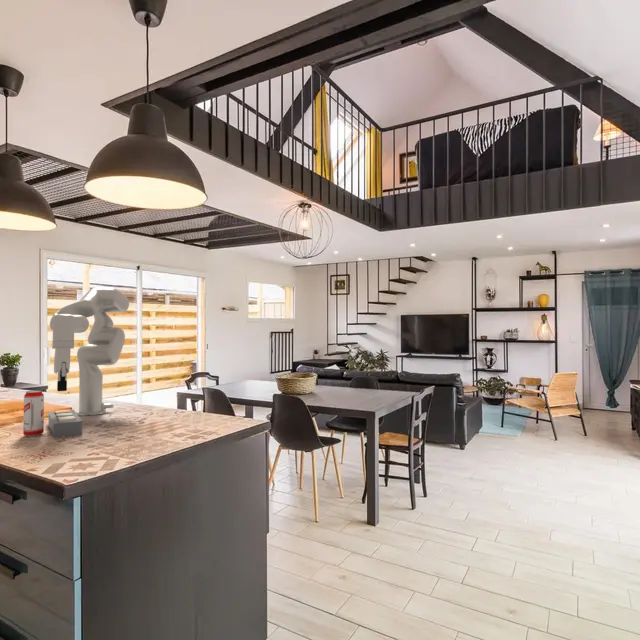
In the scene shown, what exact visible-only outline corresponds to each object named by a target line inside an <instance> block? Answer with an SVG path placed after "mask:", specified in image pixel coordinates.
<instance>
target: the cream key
mask: <svg viewBox="0 0 640 640" xmlns="http://www.w3.org/2000/svg"><path fill="white" fill-rule="evenodd" d="M73 420H75V417H74V416H67V417H58V422H64V421H73Z"/></svg>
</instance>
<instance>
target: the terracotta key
mask: <svg viewBox="0 0 640 640" xmlns="http://www.w3.org/2000/svg"><path fill="white" fill-rule="evenodd" d="M70 410H71V409H63V410H60V409H59V410H55V411H54V412H55V415H57V414H61V413H70Z"/></svg>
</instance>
